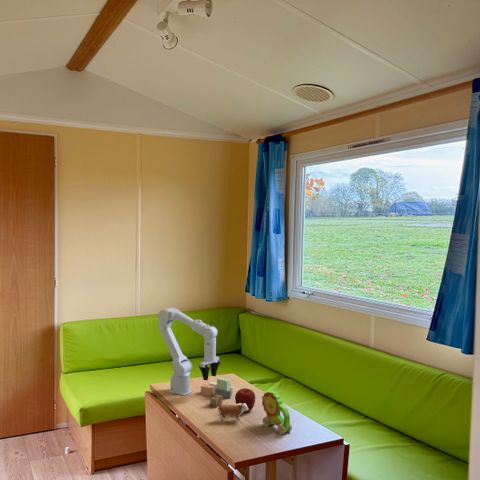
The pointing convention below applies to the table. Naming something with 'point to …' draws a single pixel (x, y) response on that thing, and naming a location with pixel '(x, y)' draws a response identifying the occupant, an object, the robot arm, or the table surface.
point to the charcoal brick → (224, 393)
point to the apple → (245, 398)
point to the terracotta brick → (207, 389)
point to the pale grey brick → (213, 385)
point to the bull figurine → (232, 410)
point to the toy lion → (275, 412)
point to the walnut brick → (216, 401)
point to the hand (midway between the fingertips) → (209, 378)
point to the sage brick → (223, 384)
